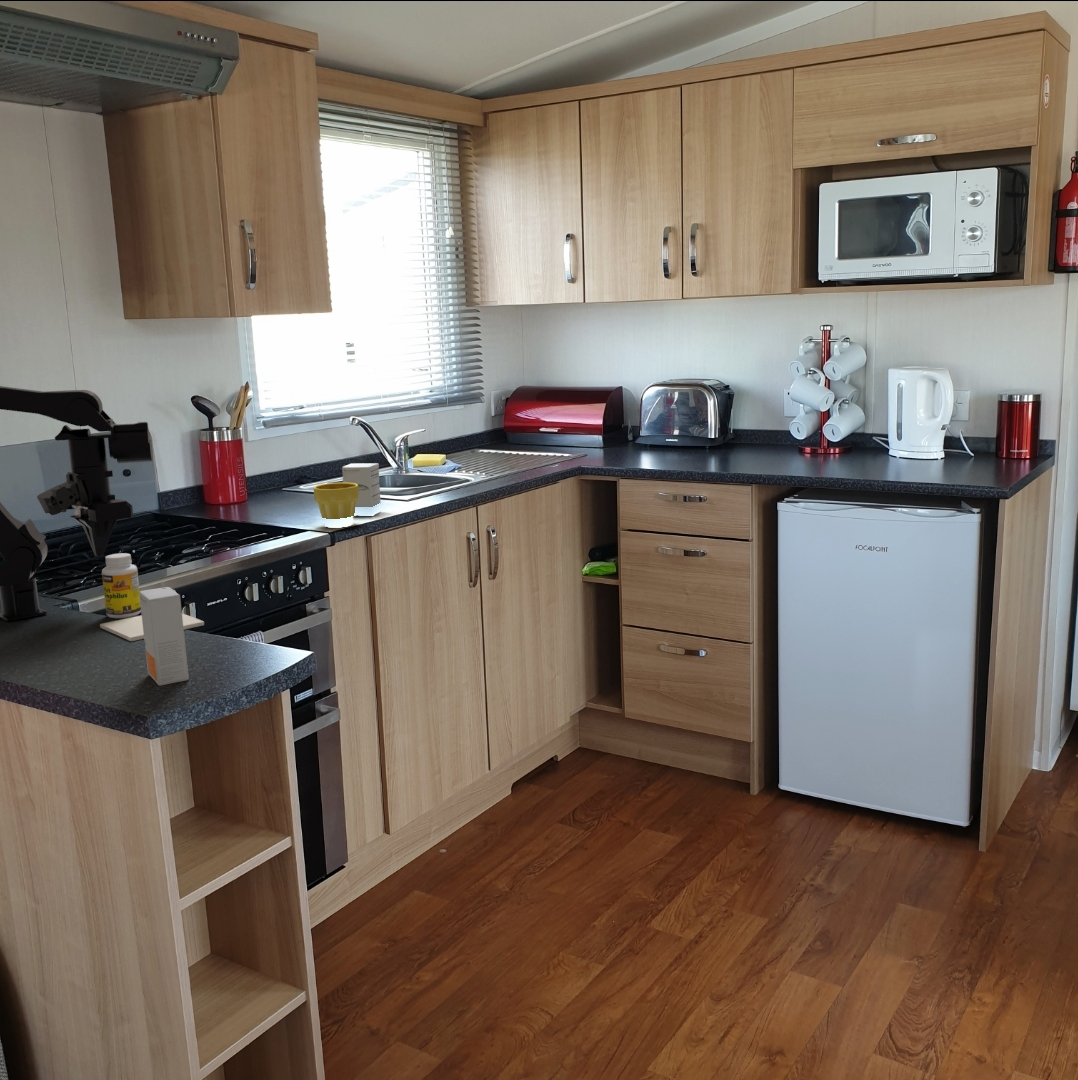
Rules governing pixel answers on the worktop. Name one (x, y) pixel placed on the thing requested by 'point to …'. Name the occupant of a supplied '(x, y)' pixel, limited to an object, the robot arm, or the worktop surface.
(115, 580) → the supplement bottle
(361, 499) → the supplement box
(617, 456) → the worktop surface
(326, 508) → the plant pot
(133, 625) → the mat
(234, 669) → the worktop surface
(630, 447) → the worktop surface
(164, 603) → the skincare box
